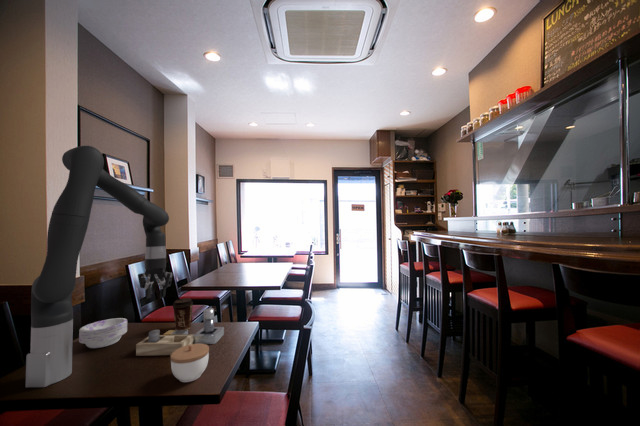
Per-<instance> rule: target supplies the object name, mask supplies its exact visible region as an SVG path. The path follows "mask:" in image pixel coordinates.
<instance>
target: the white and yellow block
mask: <svg viewBox="0 0 640 426" xmlns="http://www.w3.org/2000/svg"><path fill="white" fill-rule="evenodd" d="M188 334H189V329H188V330H175V329H169V330H168V331H166V332H165V333H163V335H188Z"/></svg>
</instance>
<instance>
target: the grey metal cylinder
mask: <svg viewBox="0 0 640 426" xmlns="http://www.w3.org/2000/svg"><path fill="white" fill-rule="evenodd" d="M202 311H203V327H204V334H213V333H214V327H215V308H213V307H210V308H208V307H207V308H205V309H203V310H202Z"/></svg>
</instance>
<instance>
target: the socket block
mask: <svg viewBox="0 0 640 426" xmlns="http://www.w3.org/2000/svg"><path fill="white" fill-rule="evenodd" d="M193 334H194V335H193V344H206V345H215V344H217V342H218V341H219V340H220V339H221V338H222V337H223V336H224V335H225V327H224V326H214V333H213V334H204V326H203V327H202V328H201V329H199V330H198V331H197V332H195V333H193Z"/></svg>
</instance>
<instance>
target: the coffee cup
mask: <svg viewBox="0 0 640 426" xmlns="http://www.w3.org/2000/svg"><path fill="white" fill-rule="evenodd" d="M193 305H194V301H193V300H192V298H189V297H186V298H185V297H184V298H180V299H176V300H175V301H173V304H172V309H173V319H174V323H175V329H174V330H188V331H189V330H190V329H191V327H192V317H193V316H192V315H193Z"/></svg>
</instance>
